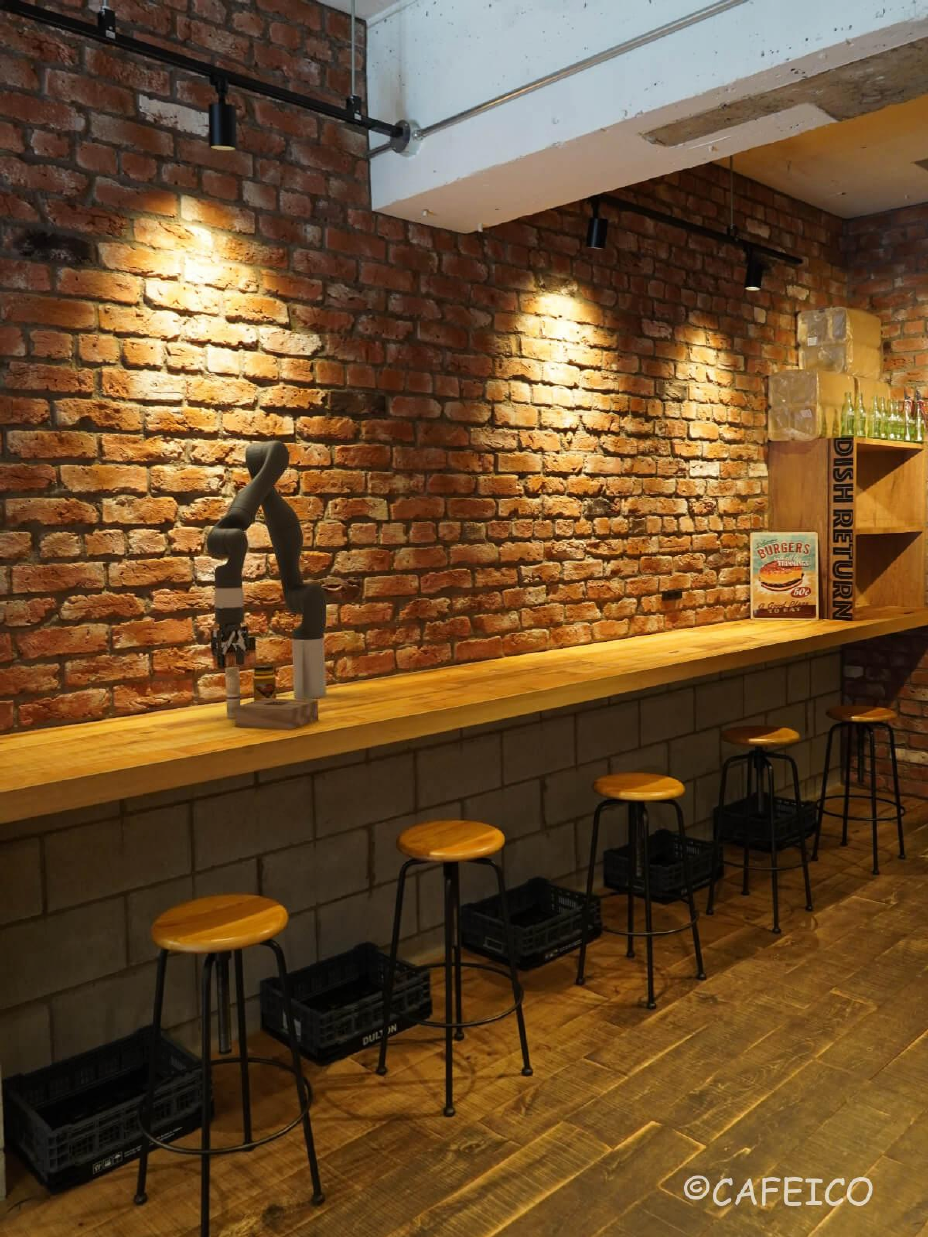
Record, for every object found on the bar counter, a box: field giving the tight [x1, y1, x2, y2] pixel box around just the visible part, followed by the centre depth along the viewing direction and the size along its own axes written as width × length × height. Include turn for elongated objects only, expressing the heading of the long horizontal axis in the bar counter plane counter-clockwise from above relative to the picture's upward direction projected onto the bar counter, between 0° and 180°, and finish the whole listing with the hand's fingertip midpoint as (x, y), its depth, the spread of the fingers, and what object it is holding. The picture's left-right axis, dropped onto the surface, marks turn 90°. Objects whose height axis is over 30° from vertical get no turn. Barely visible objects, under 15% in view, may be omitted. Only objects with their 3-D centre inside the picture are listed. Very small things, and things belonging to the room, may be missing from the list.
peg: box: [224, 666, 242, 719], centre depth 275 cm, size 4×4×13 cm
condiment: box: [252, 664, 277, 701], centre depth 287 cm, size 7×8×12 cm
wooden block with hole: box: [234, 698, 319, 730], centre depth 265 cm, size 14×16×5 cm
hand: (231, 666), depth 275 cm, fingers open, 8 cm apart
